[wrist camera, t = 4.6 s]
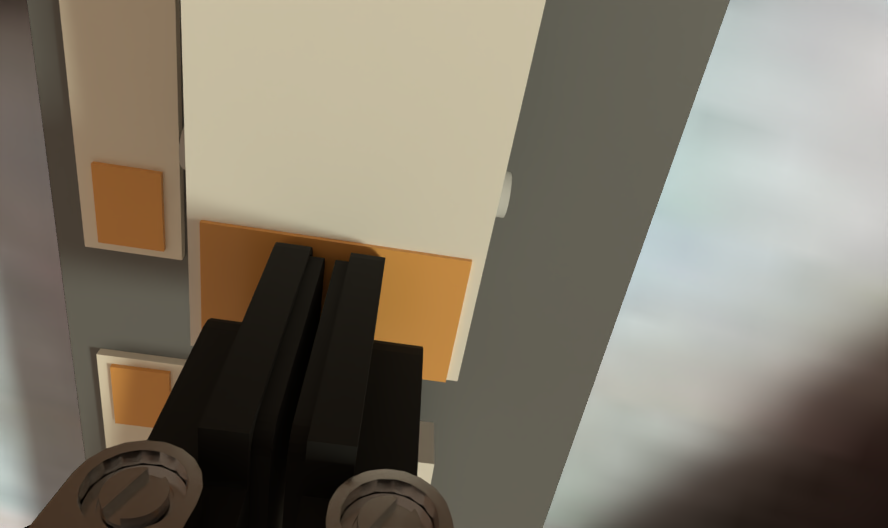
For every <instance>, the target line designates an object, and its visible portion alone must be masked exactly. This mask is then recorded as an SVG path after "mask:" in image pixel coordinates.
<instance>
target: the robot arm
mask: <svg viewBox="0 0 888 528" xmlns="http://www.w3.org/2000/svg"><path fill="white" fill-rule="evenodd" d="M384 265H385V257H378V256H371V255H364V254H357V253H351V254H350V258H349V262H348V261H341V260H336V261H335V264H334V268H333V272H332V275H331V279H330V283H329V287H328V291H327V294H326V298H325V302H324V306H323V310H322V313H321V317H320V311H321V300H322V290H323V279H324V268H325V258H320V257H313V248H312V247H309V246H302V245H295V244H288V243H281V242H276V243H275V245H274V247H273V249H272V252H271V254H270V257H269V259H268V261H267V264H266V266H265V269H264V271H263V273H262V276H261V278H260V280H259V283H258V285H257V288H256V290H255V292H254V295H253V297H252V299H251V302H250V304H249V307H248V309H247V311H246V314H245V316H244V318H243V321H242V322H237V321H230V320H222V319H215V318H210V319H208V320H207V321H206V323H205V325H204V326H203V328H202V330H201V332H200V334H199V336H198V338H197V340H196V342H195V344H194V346H193V348H192V350H191V352H190V354H189V356H188V358H187V360H186V362H185V365H184V367H183V369H182V371H181V373H180V375H179V377H178V379H177V381H176V383H175V385H174V387H173V389H172V391H171V393H170V395H169V397H168V399H167V401H166V403H165V405H164V407H163V409H162V411H161V413H160V415H159V417H158V419H157V421H156V423H155V425H154V427H153V429H152V431H151V433H150V435H149V437H148V439H147V440H143V441H133V442H125V443H122V444H119V445H116V446H113V447H110V448H106V449H104V450H102V451H101V452H99V453H97V454H95V455H94V456H92V457H90V458H88V459H87V460H86V461H85V462H84V463H83V464H82V465H80V466H79V467H78V468H77V469H76V470H75V471H74V472H73V473H72V474H71V476H70V477H69V478H68V479H67V480H66V482H65V483H64V484H63V485H62V487H61V488H60V489H59V490H58V492H57V493H56V494H55V495H54V497H53V498H52V499H51V500H50V502H49V503H48V504H47V505H46V507H45V508H44V509H43V510H42V512H41V513H40V514H39V515H38V516H37V518H36V519H35V520H34V521H33V523H32V524H31V525H29V526H27V527H25V528H454V526H453V521H452V516H451V513H450V511H449V508H448V505H447V503H446V501H445V500H444V498H443V497H442V496H441V494H440V493H439V492H438V491H437V489H436V488H435V487H433V486H432V485H430V484H429V483H428V482H426V481H425V480H423V479H422V478H420V477H418V476H417V471H418V451H419V431H420V411H421V390H422V370H423V346H415V345H408V344H401V343H393V342H386V341H378V340H374V336H375V329H376V322H377V314H378V307H379V300H380V293H381V286H382V279H383V272H384Z"/></svg>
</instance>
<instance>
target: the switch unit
mask: <svg viewBox="0 0 888 528" xmlns="http://www.w3.org/2000/svg"><path fill="white" fill-rule="evenodd" d="M729 1H730V0H546V2H545V6H544V11H543V15H542V19H541V24H540V28H539V32H538V37H537V41H536V45H535V49H534V54H533V58H532V62H531V67H530V71H529V75H528V80H527V84H526V88H525V92H524V97H523V101H522V105H521V110H520V114H519V118H518V123H517V127H516V131H515V136H514V140H513V144H512V148H511V153H510V157H509V161H508V166H507V170H506V172H511V174H512V184H511V193H510V199H509V204H508V208H507V212H506V214H505V216H504V218H501V217H495V222H494V226H493V230H492V235H491V239H490V243H489V247H488V252H487V256H486V260H485V265H484V269H483V273H482V278H481V282H480V286H479V291H478V295H477V299H476V303H475V308H474V312H473V316H472V321H471V325H470V329H469V334H468V338H467V342H466V347H465V351H464V355H463V359H462V364H461V368H460V372H459V377H458V381H452V380H446V382H438V381H431V380H423V379H422V390H421V411H420V421H425V422H432V423H434V469H433V474H432V480H431V485H432V486H433V487H435V488H436V489H437V491H438V492H439V493H440V494H441V496H442V497H443V498H444V500H445V501H446V503H447V505H448V508H449V511H450V513H451V516H452V521H453V526H454V528H543V525H544V522H545V519H546V516H547V514H548V511H549V508H550V505H551V502H552V499H553V497H554V494H555V491H556V488H557V485H558V483H559V480H560V477H561V474H562V471H563V468H564V466H565V463H566V460H567V457H568V454H569V452H570V449H571V446H572V443H573V440H574V438H575V435H576V432H577V429H578V426H579V423H580V421H581V418H582V415H583V412H584V409H585V407H586V404H587V401H588V398H589V395H590V392H591V390H592V387H593V384H594V381H595V378H596V376H597V373H598V370H599V367H600V364H601V361H602V359H603V356H604V353H605V350H606V347H607V345H608V342H609V339H610V336H611V333H612V331H613V328H614V325H615V322H616V319H617V316H618V314H619V311H620V308H621V305H622V302H623V300H624V297H625V294H626V291H627V288H628V285H629V283H630V280H631V277H632V274H633V271H634V269H635V266H636V263H637V260H638V257H639V254H640V252H641V249H642V246H643V243H644V240H645V238H646V235H647V232H648V229H649V226H650V224H651V221H652V218H653V215H654V212H655V209H656V207H657V204H658V201H659V198H660V195H661V193H662V190H663V187H664V184H665V181H666V178H667V176H668V173H669V170H670V167H671V164H672V162H673V159H674V156H675V153H676V150H677V147H678V145H679V142H680V139H681V136H682V133H683V131H684V128H685V125H686V122H687V119H688V117H689V114H690V111H691V108H692V105H693V102H694V100H695V97H696V94H697V91H698V88H699V86H700V83H701V80H702V77H703V74H704V71H705V69H706V66H707V63H708V60H709V57H710V55H711V52H712V49H713V46H714V43H715V40H716V38H717V35H718V32H719V29H720V26H721V24H722V21H723V18H724V15H725V12H726V10H727V7H728V4H729ZM27 5H28V13H29V21H30V29H31V36H32V44H33V52H34V60H35V68H36V76H37V83H38V91H39V99H40V107H41V115H42V122H43V130H44V138H45V146H46V154H47V162H48V169H49V177H50V185H51V193H52V201H53V209H54V216H55V224H56V232H57V240H58V248H59V256H60V263H61V271H62V279H63V287H64V295H65V303H66V310H67V318H68V326H69V334H70V342H71V349H72V357H73V365H74V373H75V381H76V389H77V396H78V404H79V412H80V420H81V428H82V436H83V443H84V451H85V459H86V460H87V459H88V458H90V457H92V456H94V455H95V454H97V453H99V452H101V451H102V450H104V449H106V448H110V447H113V446H116V445H119V444H122V443H125V442H133V441H143V440H147V439H148V437H149V435H150V433H151V431H152V429H153V427H154V425H155V423H156V421H157V419H158V417H159V415H160V413H161V411H162V409H163V407H164V405H165V403H166V401H167V399H168V397H169V395H170V393H171V391H172V389H173V387H174V385H175V383H176V381H177V379H178V377H179V375H180V373H181V371H182V369H183V367H184V365H185V362H186V360H187V358H188V356H189V354H190V352H191V350H192V348H193V346H191V340H190V305H189V271H188V236H187V202H186V170H185V169H182V168H181V165H180V161H179V144H180V138H181V134H182V130H183V128H184V98H183V64H182V29H181V0H27Z"/></svg>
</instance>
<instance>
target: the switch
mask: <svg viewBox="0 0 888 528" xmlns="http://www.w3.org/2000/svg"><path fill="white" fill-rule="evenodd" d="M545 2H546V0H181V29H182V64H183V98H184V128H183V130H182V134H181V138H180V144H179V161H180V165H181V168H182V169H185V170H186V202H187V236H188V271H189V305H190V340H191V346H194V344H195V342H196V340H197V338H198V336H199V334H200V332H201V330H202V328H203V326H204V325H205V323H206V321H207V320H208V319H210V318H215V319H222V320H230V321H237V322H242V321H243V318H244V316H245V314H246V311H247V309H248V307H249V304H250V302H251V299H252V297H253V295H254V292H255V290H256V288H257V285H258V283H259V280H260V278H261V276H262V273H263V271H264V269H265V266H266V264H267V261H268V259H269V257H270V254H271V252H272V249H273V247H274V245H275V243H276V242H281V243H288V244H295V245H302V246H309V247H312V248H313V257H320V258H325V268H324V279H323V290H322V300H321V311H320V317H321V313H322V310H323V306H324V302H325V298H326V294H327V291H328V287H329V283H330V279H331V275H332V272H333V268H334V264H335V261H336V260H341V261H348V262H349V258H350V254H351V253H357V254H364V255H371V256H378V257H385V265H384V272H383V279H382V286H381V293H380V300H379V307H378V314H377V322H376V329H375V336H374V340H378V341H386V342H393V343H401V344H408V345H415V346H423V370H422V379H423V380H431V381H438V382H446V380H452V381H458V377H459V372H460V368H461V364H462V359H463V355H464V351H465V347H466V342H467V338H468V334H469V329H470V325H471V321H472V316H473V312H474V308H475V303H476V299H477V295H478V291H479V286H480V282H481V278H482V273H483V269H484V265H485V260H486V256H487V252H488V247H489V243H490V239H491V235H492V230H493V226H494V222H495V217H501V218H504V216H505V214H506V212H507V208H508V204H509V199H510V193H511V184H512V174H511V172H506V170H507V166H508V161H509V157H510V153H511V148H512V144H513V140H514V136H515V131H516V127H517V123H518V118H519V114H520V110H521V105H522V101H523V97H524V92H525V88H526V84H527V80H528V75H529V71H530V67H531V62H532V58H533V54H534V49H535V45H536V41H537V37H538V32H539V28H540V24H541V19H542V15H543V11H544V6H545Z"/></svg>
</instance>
